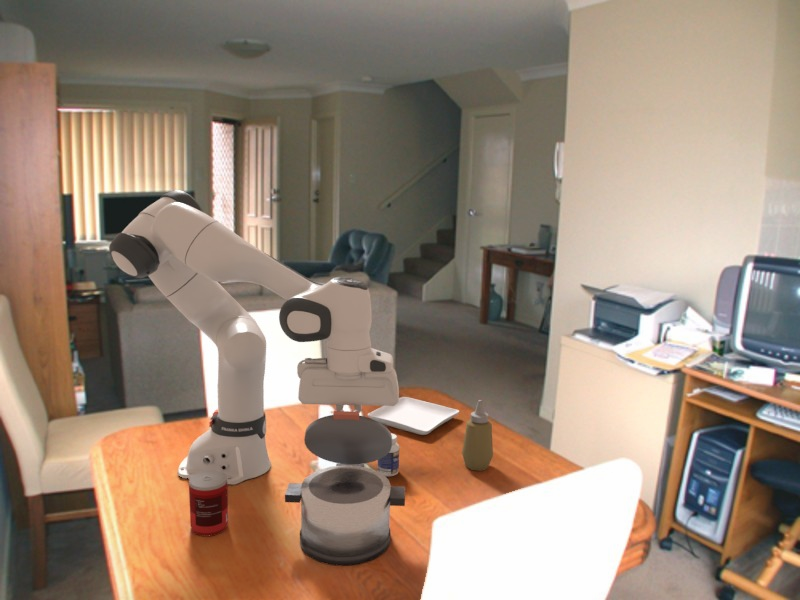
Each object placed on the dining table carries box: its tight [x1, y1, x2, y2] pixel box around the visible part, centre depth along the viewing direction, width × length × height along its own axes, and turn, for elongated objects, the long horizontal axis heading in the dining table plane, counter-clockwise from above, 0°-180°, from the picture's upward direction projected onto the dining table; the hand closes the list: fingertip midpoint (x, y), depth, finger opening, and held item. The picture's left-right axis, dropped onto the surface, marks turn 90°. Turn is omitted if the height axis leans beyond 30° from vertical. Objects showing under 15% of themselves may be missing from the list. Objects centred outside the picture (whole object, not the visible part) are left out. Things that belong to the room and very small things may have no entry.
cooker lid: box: [303, 410, 392, 465], centre depth 134 cm, size 18×20×2 cm
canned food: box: [188, 471, 229, 537], centre depth 137 cm, size 8×8×11 cm
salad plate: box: [367, 396, 460, 436], centre depth 199 cm, size 21×21×3 cm
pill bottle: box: [377, 433, 400, 477], centre depth 164 cm, size 5×5×10 cm
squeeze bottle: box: [461, 399, 494, 472], centre depth 168 cm, size 8×8×18 cm
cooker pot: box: [284, 463, 406, 567], centre depth 134 cm, size 24×20×12 cm
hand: (349, 424), depth 133 cm, fingers closed
